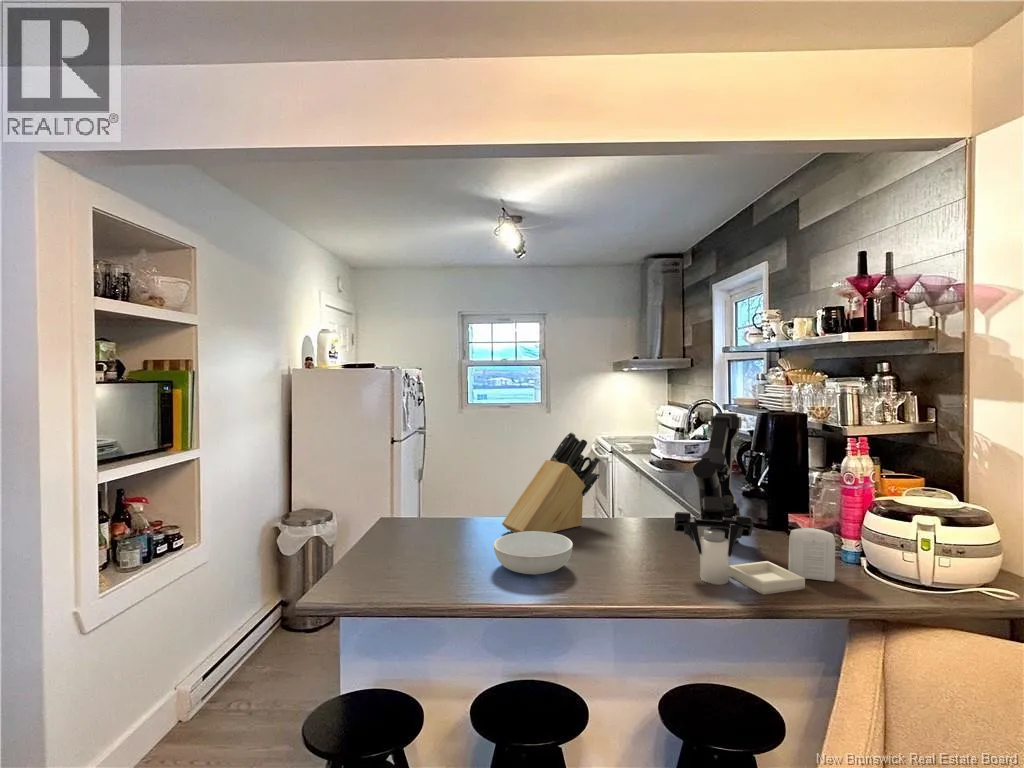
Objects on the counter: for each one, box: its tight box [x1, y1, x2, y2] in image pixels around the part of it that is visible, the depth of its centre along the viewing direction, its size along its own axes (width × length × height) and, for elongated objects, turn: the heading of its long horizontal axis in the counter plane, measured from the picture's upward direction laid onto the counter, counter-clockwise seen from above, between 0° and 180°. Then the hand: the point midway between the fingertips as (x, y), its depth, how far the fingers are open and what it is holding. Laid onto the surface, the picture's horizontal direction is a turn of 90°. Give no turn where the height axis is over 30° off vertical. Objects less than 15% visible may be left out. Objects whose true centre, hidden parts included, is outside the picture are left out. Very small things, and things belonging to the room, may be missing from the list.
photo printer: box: [787, 527, 836, 582], centre depth 132 cm, size 10×4×12 cm, turn 72°
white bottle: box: [699, 528, 729, 585], centre depth 131 cm, size 7×7×12 cm
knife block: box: [501, 431, 601, 533], centre depth 175 cm, size 11×35×31 cm, turn 127°
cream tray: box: [728, 560, 806, 595], centre depth 129 cm, size 12×12×2 cm
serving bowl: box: [493, 531, 574, 575], centre depth 139 cm, size 21×21×7 cm
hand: (714, 554), depth 129 cm, fingers closed on white bottle, 7 cm apart
